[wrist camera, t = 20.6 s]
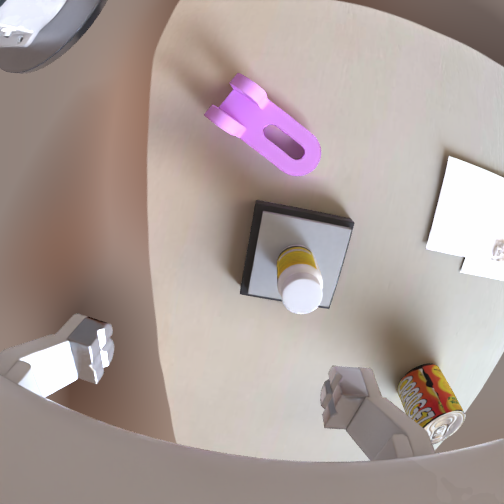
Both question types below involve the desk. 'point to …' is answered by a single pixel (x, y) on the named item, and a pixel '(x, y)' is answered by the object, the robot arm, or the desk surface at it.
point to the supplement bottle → (299, 279)
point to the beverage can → (431, 402)
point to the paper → (471, 219)
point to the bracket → (257, 118)
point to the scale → (293, 233)
